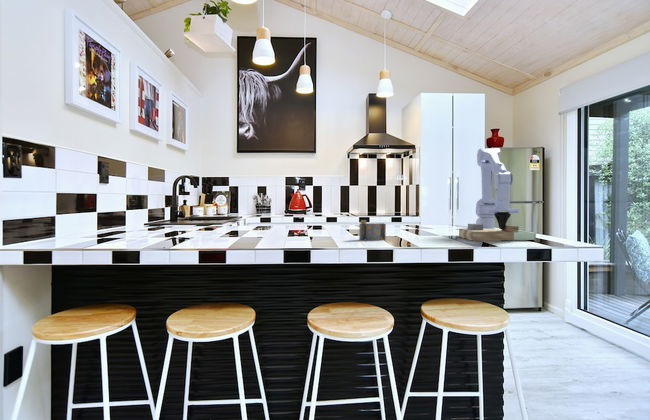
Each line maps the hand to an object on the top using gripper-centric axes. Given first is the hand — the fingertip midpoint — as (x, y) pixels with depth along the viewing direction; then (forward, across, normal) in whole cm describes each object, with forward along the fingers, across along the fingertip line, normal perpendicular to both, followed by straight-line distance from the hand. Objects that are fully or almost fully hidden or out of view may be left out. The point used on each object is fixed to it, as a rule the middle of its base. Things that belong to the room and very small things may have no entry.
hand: (501, 229), depth 155 cm
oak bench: (+5, -6, +4) cm, 8 cm away
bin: (+5, +8, +4) cm, 10 cm away
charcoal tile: (+1, -9, +7) cm, 11 cm away
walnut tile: (+1, +3, 0) cm, 3 cm away
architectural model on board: (+6, -59, 0) cm, 59 cm away
